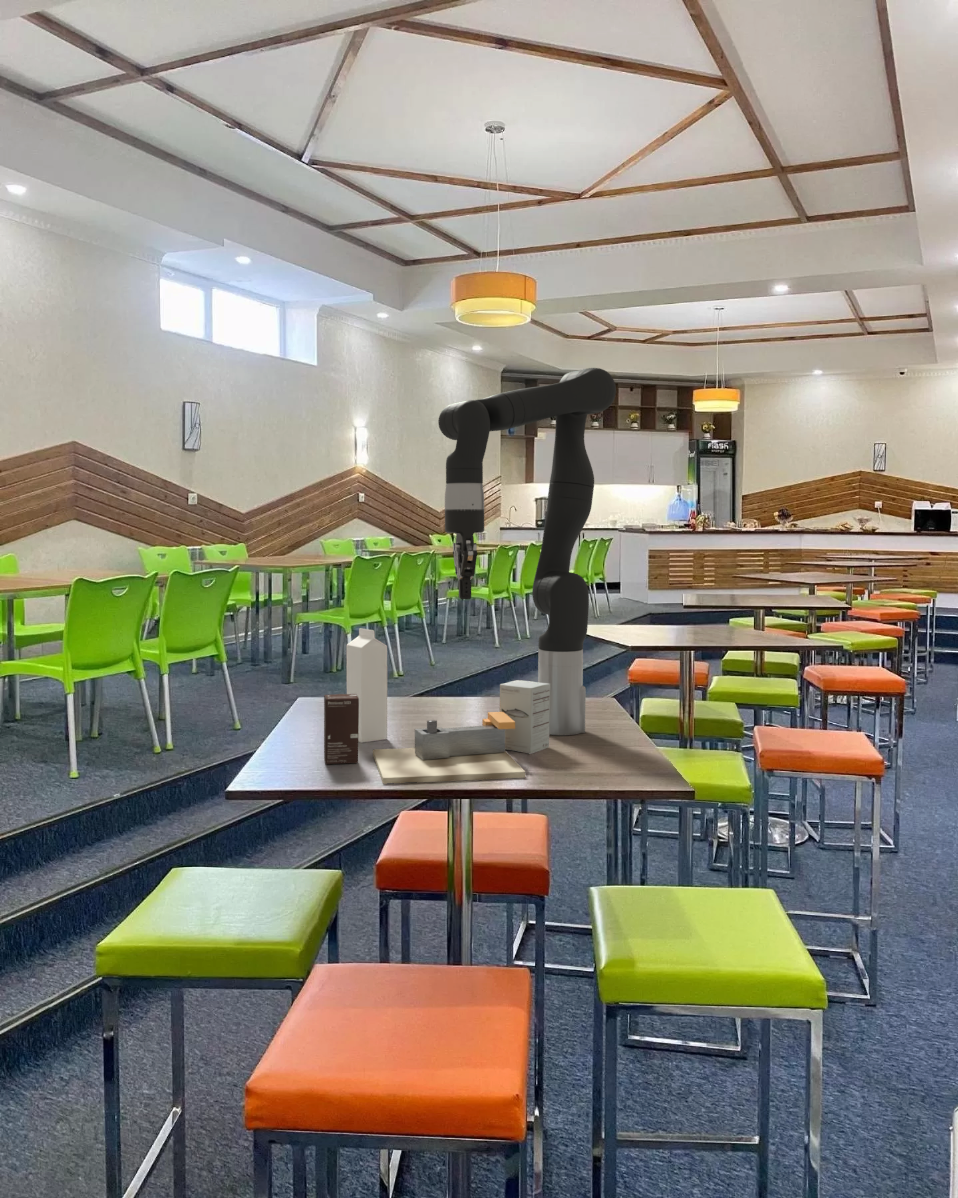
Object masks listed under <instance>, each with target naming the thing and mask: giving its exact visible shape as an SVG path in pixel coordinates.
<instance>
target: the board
mask: <svg viewBox="0 0 958 1198" xmlns="http://www.w3.org/2000/svg"><path fill="white" fill-rule="evenodd" d="M372 756H373V759H374V762H375V765H376V768H377V770H378V773H379V774H378V775H379V777H380V780H381V782H382V785H388V784H387V783H394V784H405V783H404V782H417V783H432V782H433V783H434V782H435V783H436V782H437V783H439V782H451V781H452V782H453V781H454V782H459V781H475V780H476V781H479V780H483V781H484V780H500V779H502V780H503V779H520V778H521V779H524V778H526V770H524V769H523V768H522V767H521V765H520V764H518V762H517V761H516V760H515V759H514V758H513V757H512V756H511V755H510V754H509V753H508V752H507V751H506V750H505V752H498V753H485V754H472V755H459V756H449V758H441V759H434V760H429V759H425V760H422V759H421V758H420V757H418V756H417V755H416V754H415V747H410V748H409V747H407V748H406V747H405V748H379V749H377V748H376V749H372Z"/></svg>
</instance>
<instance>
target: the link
mask: <svg viewBox="0 0 958 1198" xmlns="http://www.w3.org/2000/svg"><path fill="white" fill-rule="evenodd" d="M414 748H415V754H416V755H417V756H418V757H420V758H421V759H422V760H425V759H438V758H449V756H459V755H472V754H485V753H498V752H505V751H506V749H505V729H498V728H497V727H496V726H495V725H485V726H482V725H473V726H460V727H458V726H457V727H444V728H443V727H438V726H437V732H434V733H427V727H426V728H415V729H414Z"/></svg>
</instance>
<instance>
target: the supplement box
mask: <svg viewBox="0 0 958 1198" xmlns="http://www.w3.org/2000/svg"><path fill="white" fill-rule="evenodd" d="M498 708H499V711H498V712H504V713H505V714H506V715H508V716H509V717H510V718H511V719H512V720H513V721H515V729H505V750H508V751H514V752H518V753H526V754H530V755H531V754H535V753H538V752H540V751H542V750H543V751H544V750H546V749H548V748H549V747H550V734H549V720H550V684H548V683H539V682H538V681H532V680H531V681H529V680H521V679H520V680H519V679H517V680H512V681H508V682H505V683H500V684H499V707H498Z"/></svg>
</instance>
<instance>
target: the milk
mask: <svg viewBox="0 0 958 1198" xmlns="http://www.w3.org/2000/svg"><path fill="white" fill-rule="evenodd" d="M375 635H376V634H375V630H373V629H368V628H361V627H360V628H359V629H358V635H357V636H356V637H355V638H354V639H352V640H351V641H349V642H348V643H347V644H346V694H357V696H358V698H359V726H358V743H361V744H365V743H369V742H377V741H383V740H388V645H386V644H385V643H384V642H382V641H380V640H378V639H377V638H376V637H375Z"/></svg>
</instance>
